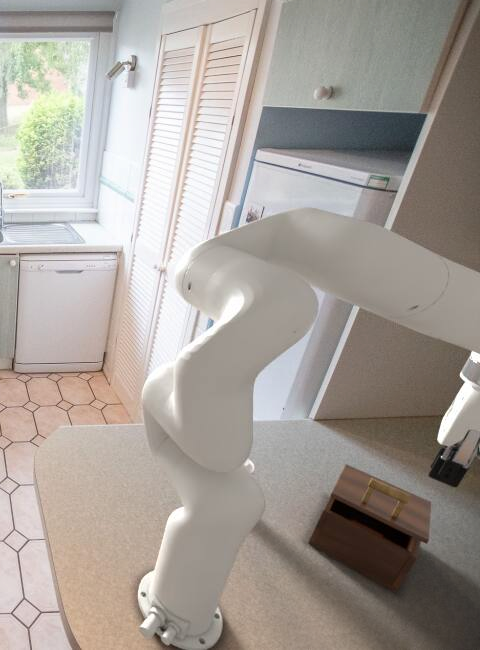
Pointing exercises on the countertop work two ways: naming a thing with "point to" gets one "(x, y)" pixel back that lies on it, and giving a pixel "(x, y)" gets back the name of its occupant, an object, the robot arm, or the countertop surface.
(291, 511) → the countertop surface
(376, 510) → the lid
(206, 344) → the robot arm
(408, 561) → the chest
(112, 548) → the countertop surface
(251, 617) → the countertop surface
